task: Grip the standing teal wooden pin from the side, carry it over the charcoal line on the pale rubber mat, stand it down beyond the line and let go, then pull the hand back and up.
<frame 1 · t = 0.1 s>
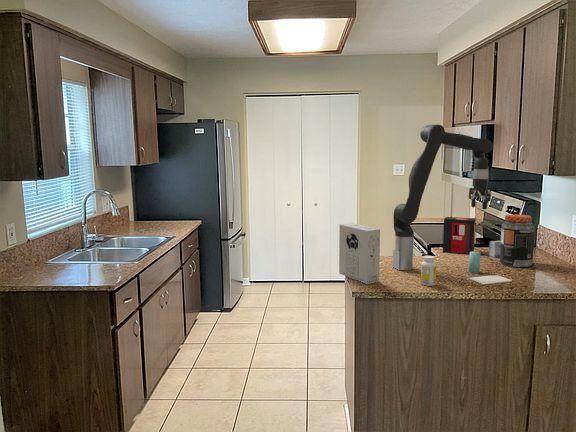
hand: (478, 208, 252), 29 cm above the countertop, tool pointing down, fingers open, 8 cm apart
medicine box: (497, 256, 268), on the countertop
supplement bottle: (428, 284, 215), on the countertop
supplement tub: (515, 264, 249), on the countertop
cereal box: (358, 278, 227), on the countertop
cleaning product box: (458, 252, 279), on the countertop
teal wooden pin: (474, 272, 235), on the countertop
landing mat: (489, 279, 222), on the countertop
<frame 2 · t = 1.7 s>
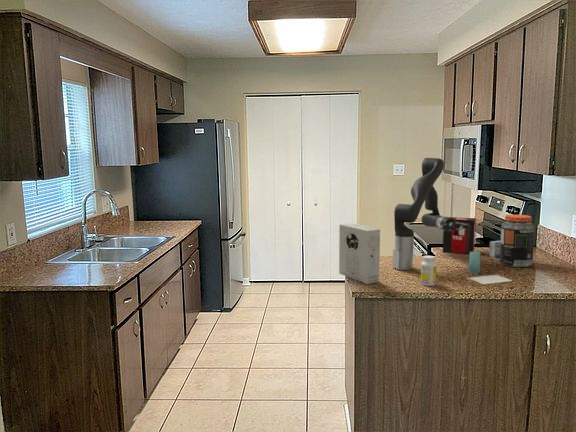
hand: (463, 228, 242), 20 cm above the countertop, tool horizontal, fingers open, 8 cm apart
nothing on the countertop moved.
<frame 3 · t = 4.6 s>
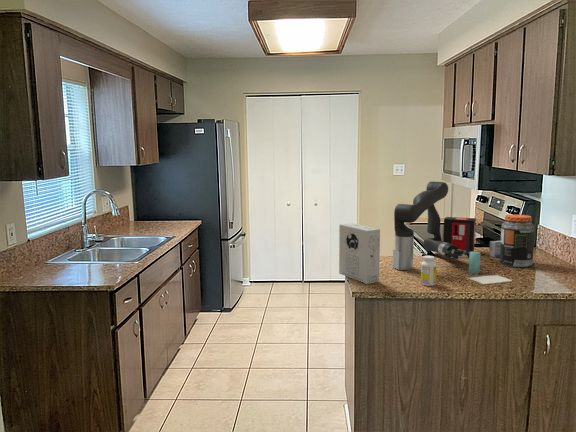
hand: (465, 256, 241), 6 cm above the countertop, tool horizontal, fingers open, 8 cm apart
nothing on the countertop moved.
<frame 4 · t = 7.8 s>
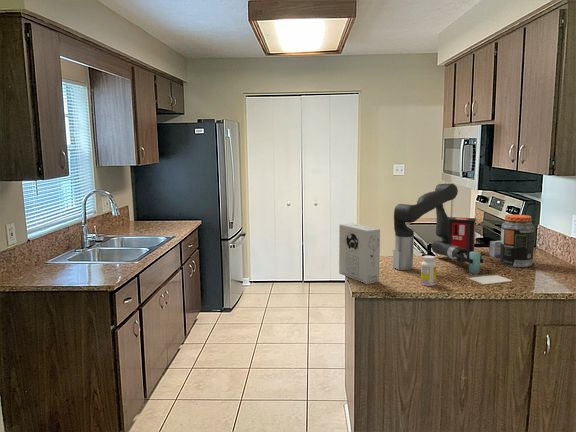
hand: (477, 261, 232), 6 cm above the countertop, tool horizontal, fingers closed on teal wooden pin, 5 cm apart
teal wooden pin: (474, 272, 235), on the countertop, touching gripper
everything else where it was.
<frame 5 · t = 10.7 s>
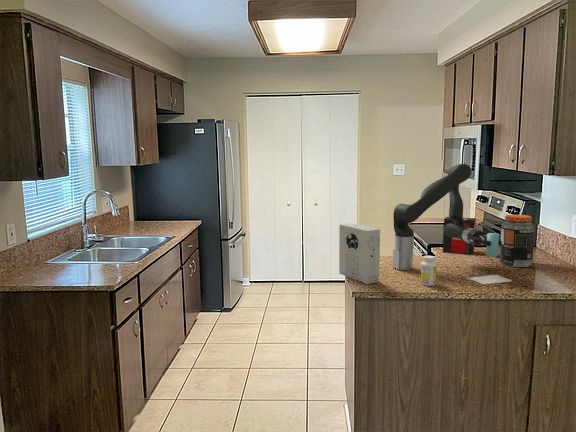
hand: (495, 243, 216), 18 cm above the countertop, tool horizontal, fingers closed on teal wooden pin, 5 cm apart
teal wooden pin: (491, 255, 219), point 12 cm above the countertop, touching gripper
everything else where it was.
when the fingers open (7 cm above the countertop, at t = 14.0 s): teal wooden pin stays where it is, resting on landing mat.
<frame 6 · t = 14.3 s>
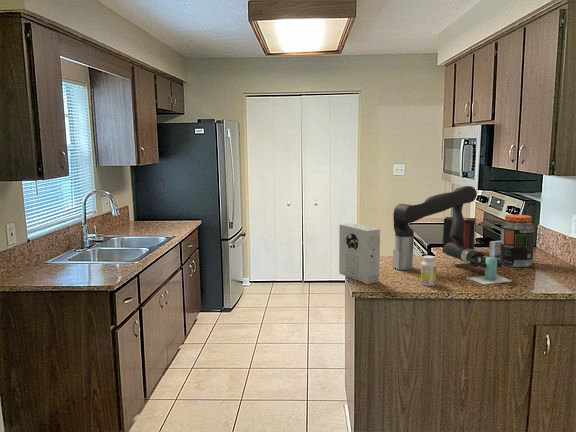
hand: (493, 265, 218), 7 cm above the countertop, tool horizontal, fingers open, 7 cm apart
teal wooden pin: (490, 279, 221), resting on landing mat
everything else where it was.
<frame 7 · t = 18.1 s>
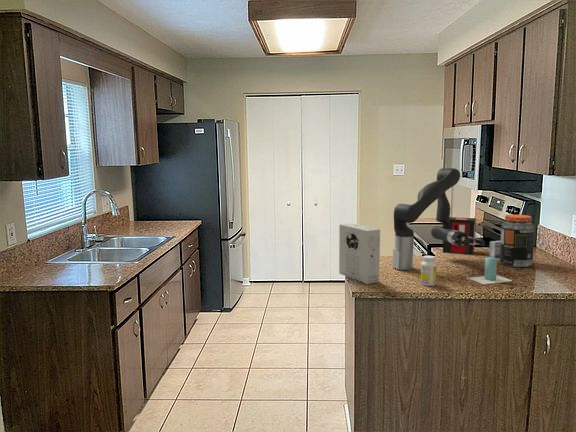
hand: (476, 243, 230), 15 cm above the countertop, tool horizontal, fingers open, 8 cm apart
nothing on the countertop moved.
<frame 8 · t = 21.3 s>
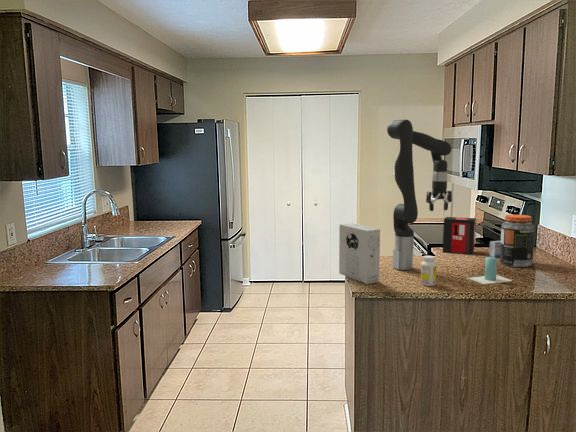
hand: (438, 210, 252), 28 cm above the countertop, tool pointing down, fingers open, 8 cm apart
nothing on the countertop moved.
at the end: teal wooden pin inside the target area (2.1 cm from its centre), point 0.5 cm above the countertop; teal wooden pin tilted 1°; the gripper is holding nothing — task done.
